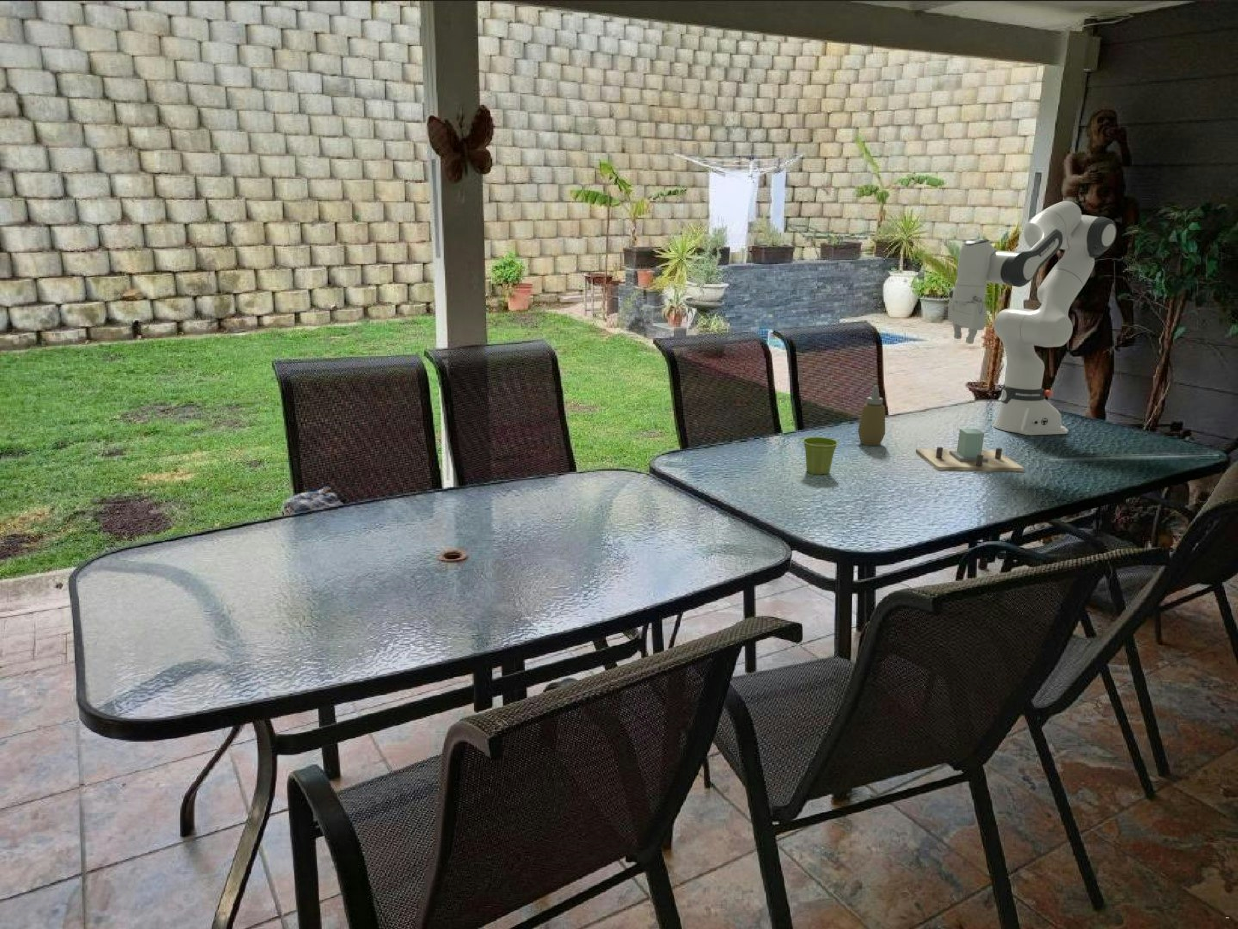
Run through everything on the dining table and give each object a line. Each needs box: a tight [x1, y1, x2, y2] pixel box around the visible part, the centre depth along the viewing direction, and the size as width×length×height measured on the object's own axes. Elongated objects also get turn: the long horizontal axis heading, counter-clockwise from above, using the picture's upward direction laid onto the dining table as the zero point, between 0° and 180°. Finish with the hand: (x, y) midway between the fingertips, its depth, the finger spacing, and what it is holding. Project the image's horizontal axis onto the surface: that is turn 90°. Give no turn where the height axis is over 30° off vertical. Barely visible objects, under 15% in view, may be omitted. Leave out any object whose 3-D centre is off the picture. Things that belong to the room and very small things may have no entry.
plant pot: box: [802, 436, 839, 476], centre depth 235 cm, size 9×9×9 cm
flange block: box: [949, 428, 988, 462], centre depth 246 cm, size 8×8×8 cm
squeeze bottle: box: [857, 385, 886, 447], centre depth 262 cm, size 8×8×18 cm
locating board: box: [915, 446, 1025, 472], centre depth 247 cm, size 24×18×4 cm
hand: (963, 340), depth 262 cm, fingers open, 8 cm apart
